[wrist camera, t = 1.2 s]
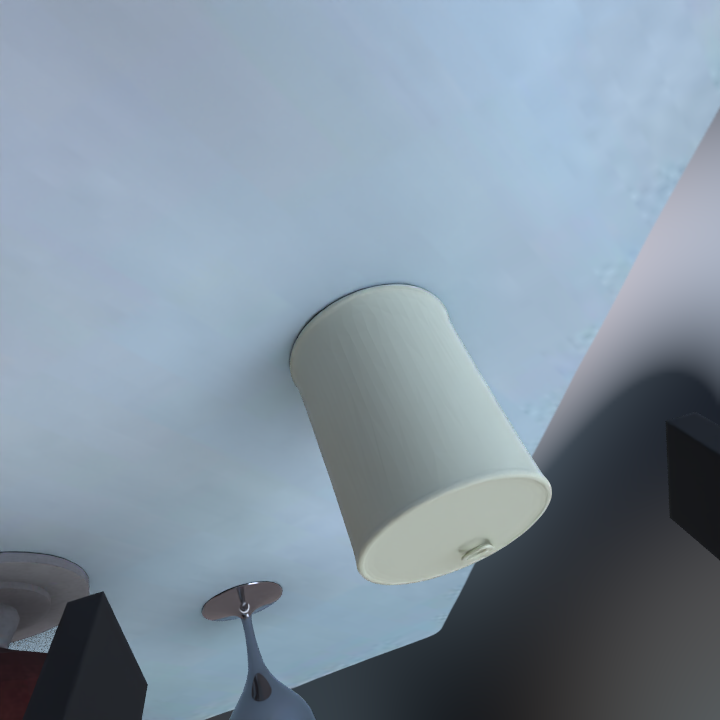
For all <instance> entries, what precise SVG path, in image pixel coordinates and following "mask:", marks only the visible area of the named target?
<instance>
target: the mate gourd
mask: <svg viewBox="0 0 720 720" xmlns="http://www.w3.org/2000/svg"><path fill="white" fill-rule="evenodd" d="M86 596H89V578H88V576H87V574H86V573H85V571H84V570H83V569H82V568H80V567H79V566H78V565H76V564H74V563H72V562H70V561H67V560H65V559H62V558H58V557H54V556H50V555H45V554H36V553H19V552H4V553H0V720H22V719H23V717H24V714H25V711H26V709H27V706H28V703H29V701H30V698H31V696H32V693H33V690H34V688H35V685H36V683H37V680H38V677H39V675H40V672H41V669H42V667H43V664H44V662H45V659H46V656H47V654H48V653H40V652H30V651H19V650H11V649H8V647H9V645H10V643H11V642H15V641H18V640H22V639H25V638H28V637H31V636H34V635H37V634H39V633H42V632H45V631H47V630H49V629H51V628H53V627H55V626H57V625H59V622H60V620H61V617H62V615H63V612H64V609H65V607H66V604H67V602H70V601H73V600H77V599H80V598H83V597H86Z"/></svg>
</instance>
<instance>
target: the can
mask: <svg viewBox="0 0 720 720" xmlns="http://www.w3.org/2000/svg"><path fill="white" fill-rule="evenodd" d="M290 372H291V377H292V379H293V382H294V384H295V385H296V387H297V388H298V390H299V392H300V394H301V397H302V400H303V402H304V405H305V408H306V410H307V413H308V416H309V419H310V422H311V425H312V428H313V430H314V433H315V436H316V439H317V442H318V445H319V448H320V451H321V454H322V457H323V460H324V463H325V466H326V468H327V471H328V474H329V477H330V480H331V483H332V486H333V489H334V492H335V495H336V498H337V501H338V504H339V507H340V510H341V514H342V517H343V520H344V523H345V526H346V529H347V532H348V535H349V538H350V541H351V545H352V548H353V551H354V555H355V559H356V564H357V569H358V571H359V573H360V574H361V576H362V577H363V578H365V579H366V580H368V581H370V582H373V583H377V584H382V585H401V584H409V583H416V582H420V581H425V580H429V579H433V578H436V577H439V576H443V575H446V574H448V573H451V572H454V571H457V570H459V569H462V568H464V567H466V566H469V565H471V564H473V563H475V562H477V561H479V560H481V559H484V558H486V557H487V556H489V555H491V554H493V553H495V552H496V551H498V550H500V549H501V548H503V547H505V546H506V545H508V544H509V543H510V542H512V541H513V540H515V539H516V538H518V537H519V536H520V535H521V534H523V533H524V532H525V531H526V530H528V529H529V528H530V527H531V526H532V525H533V524H534V523H535V522H536V521H537V520H538V519H539V518H540V516H541V515H542V514H543V513H544V511H545V510H546V508H547V506H548V504H549V502H550V499H551V494H552V490H551V486H550V483H549V481H548V480H547V479H546V478H545V477H544V476H543V474H542V473H541V471H540V470H539V468H538V467H537V465H536V464H535V462H534V460H533V459H532V457H531V456H530V454H529V453H528V451H527V450H526V448H525V446H524V445H523V443H522V441H521V440H520V438H519V437H518V435H517V433H516V432H515V430H514V428H513V427H512V425H511V423H510V422H509V420H508V418H507V417H506V415H505V413H504V412H503V410H502V409H501V407H500V405H499V404H498V402H497V400H496V399H495V397H494V395H493V394H492V392H491V390H490V389H489V387H488V385H487V384H486V382H485V380H484V379H483V377H482V375H481V374H480V372H479V370H478V369H477V367H476V365H475V364H474V362H473V360H472V358H471V357H470V355H469V353H468V352H467V350H466V348H465V346H464V345H463V343H462V341H461V340H460V338H459V336H458V334H457V333H456V331H455V329H454V327H453V325H452V323H451V322H450V319H449V315H448V312H447V310H446V308H445V306H444V305H443V303H442V302H441V301H440V300H439V299H438V298H437V297H436V296H434V295H433V294H432V293H430V292H428V291H426V290H424V289H422V288H419V287H415V286H411V285H404V284H389V285H380V286H374V287H370V288H367V289H363V290H360V291H357V292H355V293H352V294H350V295H347V296H345V297H343V298H341V299H339V300H338V301H336V302H334V303H332V304H331V305H329V306H328V307H326V308H325V309H324V310H322V311H321V312H320V313H319V314H318V315H316V316H315V317H314V318H313V319H312V320H311V321H310V322H309V323H308V324H307V326H306V327H305V328H304V329H303V330H302V332H301V333H300V335H299V336H298V338H297V340H296V342H295V344H294V346H293V349H292V352H291V357H290Z"/></svg>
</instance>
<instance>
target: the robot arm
mask: <svg viewBox="0 0 720 720" xmlns="http://www.w3.org/2000/svg"><path fill="white" fill-rule="evenodd" d="M666 440H667V462H668V485H669V508H670V518H671V519H672V520H673V521H675V522H676V523H677V524H678V525H679V526H680V527H682V528H683V529H684V530H685V531H686V532H687V533H689V534H690V535H691V536H692V537H693V538H694V539H696V540H697V541H698V542H699V543H700V544H701V545H703V546H704V547H705V548H706V549H708V551H710V552H711V553H712V554H713V555H714V556H715V557H717V558H718V559H719V560H720V426H719V425H717V424H715V423H714V422H712V421H710V420H709V419H707V418H705V417H703V416H702V415H700V414H698V413H696V412H694V413H690V414H687V415H684V416H680V417H677V418H674V419H671V420H667V421H666ZM147 685H148V684H147V682H146V680H145V678H144V676H143V674H142V672H141V670H140V668H139V665H138V663H137V661H136V659H135V657H134V655H133V653H132V651H131V649H130V646H129V644H128V642H127V640H126V638H125V636H124V634H123V632H122V630H121V627H120V625H119V623H118V621H117V619H116V617H115V615H114V613H113V611H112V608H111V606H110V604H109V602H108V600H107V598H106V596H105V594H104V592H100V593H96V594H93V595H90V596H86V597H83V598H80V599H77V600H73V601H70V602H67V604H66V607H65V609H64V612H63V615H62V617H61V620H60V622H59V625H58V628H57V630H56V633H55V635H54V638H53V641H52V643H51V646H50V649H49V651H48V654H47V656H46V659H45V662H44V664H43V667H42V669H41V672H40V675H39V677H38V680H37V683H36V685H35V688H34V690H33V693H32V696H31V698H30V701H29V703H28V706H27V709H26V711H25V714H24V717H23V719H22V720H142V714H143V708H144V702H145V697H146V691H147Z"/></svg>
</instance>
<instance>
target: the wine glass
mask: <svg viewBox="0 0 720 720" xmlns="http://www.w3.org/2000/svg"><path fill="white" fill-rule="evenodd" d="M282 591H283V590H282V587H281V586H280V585H279V584H276V583H273V582H255V583H249V584H245V585H241V586H238V587H235V588H232V589H229V590H227V591H225V592H222V593H220V594H219V595H217V596H215V597H214V598H212V599H211V600H209V601H208V602H207V603H206V604H205V605H204V607H203V609H202V615H203V616H204V617H205V618H206V619H208V620H212V621H228V620H234V619H239V618H240V619H241V620H242V624H243V627H244V632H245V637H246V645H247V655H248V675H247V680H246V684H245V687H244V690H243V692H242V694H241V697H240V699H239V701H238V703H237V705H236V707H235V709H234V711H233V713H232V716H231V718H230V720H316V717H315V715H314V713H313V711H312V710H311V708H310V707H309V705H308V704H307V702H306V701H305V700H303V699H302V698H301V697H300V696H299V695H298V694H296V693H295V692H294V691H292V690H291V689H290V688H288V687H287V686H285V685H284V684H283V683H281V682H280V681H278V680H277V679H276V678H275V677H274V676H273V675H272V674H271V673H270V671H269V670H268V669H267V667H266V666H265V664H264V662H263V659H262V656H261V654H260V651H259V648H258V645H257V642H256V638H255V634H254V630H253V625H252V618H251V617H252V614H255V613H257V612H259V611H262V610H264V609H265V608H267V607H269V606H270V605H272V604H273V603H275V602H276V601H277V600H278V599H279V598H280V596H281V595H282Z"/></svg>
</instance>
